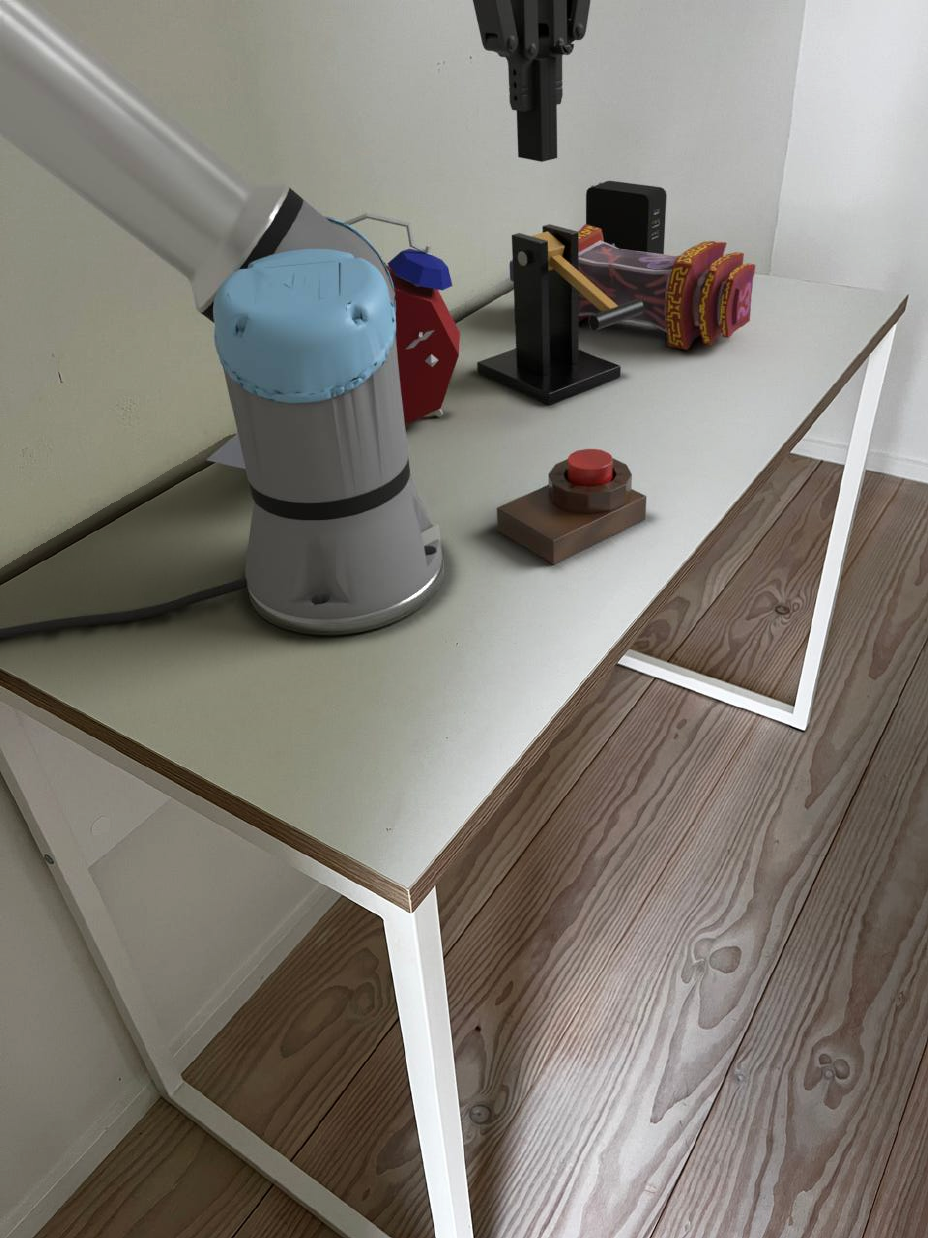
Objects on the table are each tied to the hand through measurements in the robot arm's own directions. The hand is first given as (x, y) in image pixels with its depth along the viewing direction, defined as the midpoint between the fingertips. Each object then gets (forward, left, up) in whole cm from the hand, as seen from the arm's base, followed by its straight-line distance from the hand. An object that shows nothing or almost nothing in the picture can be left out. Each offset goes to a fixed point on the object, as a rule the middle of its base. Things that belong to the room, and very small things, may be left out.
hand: (537, 157), depth 73 cm
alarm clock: (-4, +19, -27) cm, 33 cm away
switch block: (-4, -8, -26) cm, 28 cm away
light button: (-2, -8, -23) cm, 24 cm away
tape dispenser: (-16, +17, -27) cm, 35 cm away
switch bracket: (+15, +17, -26) cm, 35 cm away
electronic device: (+47, +38, -27) cm, 66 cm away
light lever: (+15, +13, -16) cm, 26 cm away
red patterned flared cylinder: (+31, +22, -27) cm, 46 cm away
